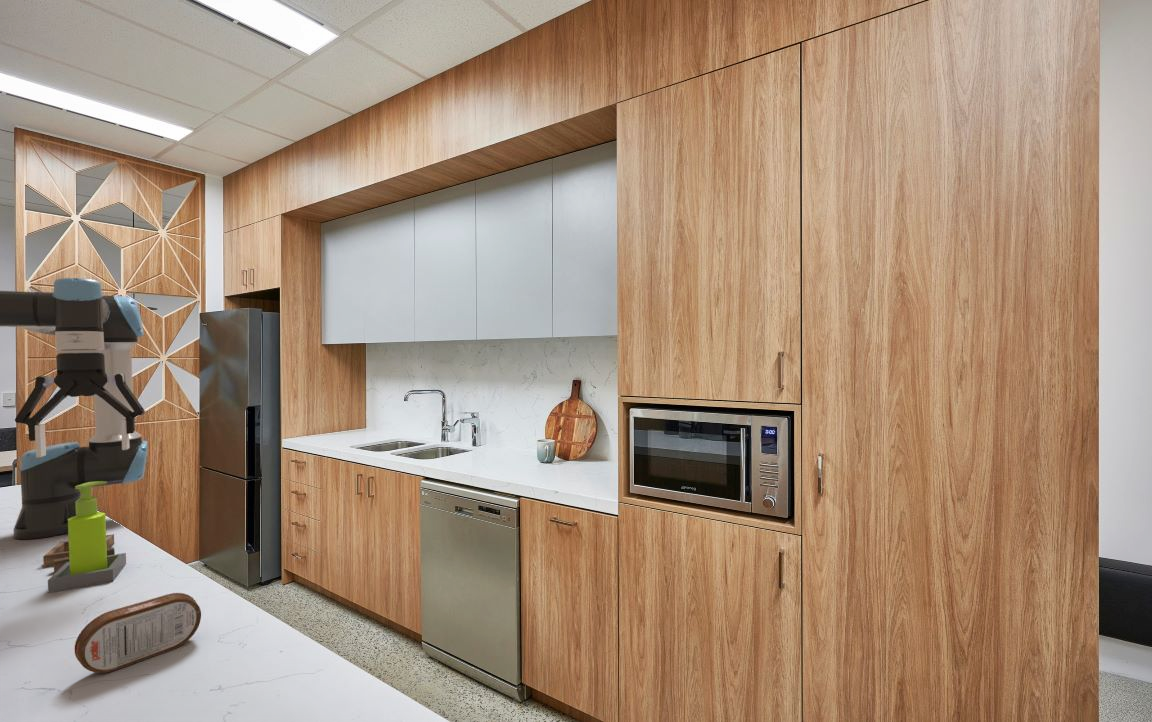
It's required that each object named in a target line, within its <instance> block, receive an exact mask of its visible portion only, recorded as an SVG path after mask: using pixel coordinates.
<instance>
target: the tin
mask: <svg viewBox="0 0 1152 722" xmlns="http://www.w3.org/2000/svg"><path fill="white" fill-rule="evenodd" d="M201 620H202V610H201V608H200V605H199V604H198V603H197V601H196V600H195V598H194V597H193V596H191V595H190V594H187V593H184V592H172V593H167V594H163V595H161V596H158V597H155V598H153V597H152V598H151V599H147V600H143V601H140V602H138V603H137V602H136V603H133V604H129V605H126V606H123V607H119V608H115V609H111V610H108V611H107V612H104V613H102V614H100V615H98V616H97V617H95V618H93V619H92V620H91V621H89V623H88V624H86V625H85V626H84V627H83V628H82V630H81V631H80V633H79V634H78V636H77V637H76V640H75V644H74V656H75V657H76V659H77V661H78V662H79V664H81V666H82V667H83V668H84V669H86V670H87V671H89V672H93V673H98V674H105V673H111V672H114V671H117V670H121V669H122V668H127V667H128V666H131V665H134V664H137V663H139V662H143V661H146V660H148V659H151V658H155V657H156V656H159V655H162V654H164V653H167V652H170V651H173V650H176V649H177V648H180V647H181V646H183V645H184V644H186V643H187V642H188V641H189V640H190V639H191V638H192V637H193V636H194V635H195V633H196V632H197V630H198V628H199V627H200V624H201Z"/></svg>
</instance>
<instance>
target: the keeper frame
mask: <svg viewBox="0 0 1152 722" xmlns="http://www.w3.org/2000/svg"><path fill="white" fill-rule="evenodd" d="M126 555H127V553H126V552H122V553H117V554H116V553H115V555H109V556H107V569H103V570H97V571H91V572H85V573H79V574H73V575H70V562H66V563H65V564H64V565H63V566H62V567H61V568H60V569H59V570H58V571H57V572H56V573H55V574H53V575H51V577H49V578H48V580H47V591H48V592H47V593H48V594H49V593H54V592H59V591H60V592H61V591H66V590H71V589H76V588H83V587H88V586H94V585H99V584H105V583H109V582H114V581H115V579H116V578H117V577H118V576H119V575H120V573H121V571H122V570H123V569H124V568H125V566H126V565H127V556H126Z"/></svg>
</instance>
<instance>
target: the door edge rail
mask: <svg viewBox="0 0 1152 722" xmlns="http://www.w3.org/2000/svg"><path fill="white" fill-rule="evenodd" d="M115 554H116V553H115V548H114V547H113V546H112V547H111V548H108V549H107V556H109V555H115ZM66 562H69V557H65V558H61V559H56V560H54V566H53V573H54V574H55V573H56V572H57V571H58V570H59V569H60V568H61V567H62V566H63V565H64V564H65V563H66ZM54 574H53V575H54Z"/></svg>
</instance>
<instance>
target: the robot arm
mask: <svg viewBox="0 0 1152 722" xmlns="http://www.w3.org/2000/svg"><path fill="white" fill-rule="evenodd" d="M0 327H11V328H12V327H13V328H14V327H15V328H23V329H25V330H27V331H29V332H31V333H32V332H33V333H38V334H44V335H49V336H55V351H57V352H59V353H58V354H56V357H55V359H56V362H55V363H56V375H55V377H52V376H51V377H47V376H45V375H43V376H42V375H41V376H37V377H36V378H35V383H34V388H32V389H33V390H32V391H31V392H30V394H29V396H28V398H27V399H26V400H25V403H23V406H21V408H20V410H19V411H18V414H17V415H16V417H15V419H14V421H15V423H17V424H25V425H26V426H27V427H28V428H27V429H28V440H29V442H34V441H35V449H32V450H28V451H26V452H24V453H22V455H21V457H20V466H19V467H20V469H19V472H20V488H21V489H20V491H21V508H20V511H19V515H18V517H17V519H16V522H15V525H14V527H13V538H14V539H16V540H34V539H35V540H36V539H42V538H49V537H54V536H60V535H64V534H68V519H69V518H71V517H74V516H76V504H75V502H76V501H77V500H79V499H81V492H80V489H75V486H78V485H81V484H84V483H87V482H94V481H106V482H107V483H106V484H99V485H95V486H92V487H91V488H96V487H105V486H115V485H120V484H121V485H124V484H129V483H134V482H139V481H140V480H142V479H143V478H144V475H145V472H146V471H145V470H146V466H147V464H146V463H147V458H148V457H147V456H148V451H149V450H148V449H149V448H148V447H149V442H148V441H147V440H143V437H142V434H141V433H139V432H138V431H137V430H136V425H135V424H136V422H135V421H136V420H135V419H136V418H137V417H138V416H142V415H144V414H145V413H146V410H145V409H144V407H143V405H142V404H141V403H140V402H139V400H138V399H137V397H136V396H135V395H134V388H133V387H134V385H133V384H134V383H133V382H134V381H133V366H132V365H133V363H132V362H133V361H132V349H133V348H134V347H135V346H136V345H137V344H138V342H139V341H138V338H141V337H143V336H145V335H144V328H143V323H142V317H141V312H140V308H139V305H138V302H137V301H136V299H134V298H133V297H130V296H120V295H104V293H103V290H102V283H101V282H100V281H98V280H96V279H93V278H92V279H90V278H79V277H62V278H61V277H60V278H57V279H55V280H54V282H53V291H52V292H51V291H50V292H49V291H47V292H46V291H22V290H21V291H17V290H16V291H15V290H0ZM52 384H55V386H57V387H58V388H59V389H58V391H57V392H56V393H55V394H53V396H52V397H51V398H50V399H49V400H48V401H47V402H46V403H45V404H44V405H43V406H42V407H40V408H39V410H38V411H36V412H35V414H33V415H32V413H33V412H34V410H35V408H36V407H37V406H38V403H39V402H40V400H41V399H42V397H43V395H44V394H45V392H46V390H47V388H50V387H51V386H52ZM68 396H69V397H71V398H75V397H76V398H77V397H81V396H83V397H93V406H94V426H95V427H94V428H95V429H94V430H95V433H94V435H92V437H91V438H90V439H88V445H87V446H86V445H85V446H81V445H80V443H79V441H78V442H77V441H73V442H64V443H59V444H54V445H53V444H52V445H48V446H47V444H46V424H45V423H41V422H42V421H43V420H44V419H45V417H47V416H48V415H49V414H50V413H52V411H53V410H54V409H55V408H56V407H57V406H58V405H60V403H62V401H63V400H65V399H67V397H68ZM31 415H32V417H31ZM40 423H41V424H40Z"/></svg>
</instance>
